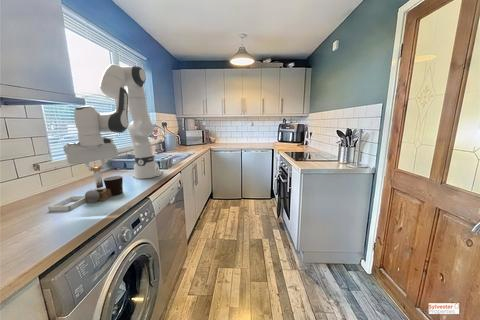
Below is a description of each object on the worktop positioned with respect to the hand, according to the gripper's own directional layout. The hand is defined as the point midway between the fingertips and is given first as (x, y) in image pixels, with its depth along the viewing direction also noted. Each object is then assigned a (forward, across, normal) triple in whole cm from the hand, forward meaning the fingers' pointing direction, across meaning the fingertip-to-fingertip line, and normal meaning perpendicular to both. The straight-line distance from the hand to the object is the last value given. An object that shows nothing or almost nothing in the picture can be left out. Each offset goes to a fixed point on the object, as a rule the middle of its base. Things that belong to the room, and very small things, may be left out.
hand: (96, 169), depth 102 cm
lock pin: (+9, 0, 0) cm, 9 cm away
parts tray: (+15, -12, +1) cm, 19 cm away
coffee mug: (+16, +8, +3) cm, 18 cm away
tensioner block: (+15, -1, 0) cm, 15 cm away
